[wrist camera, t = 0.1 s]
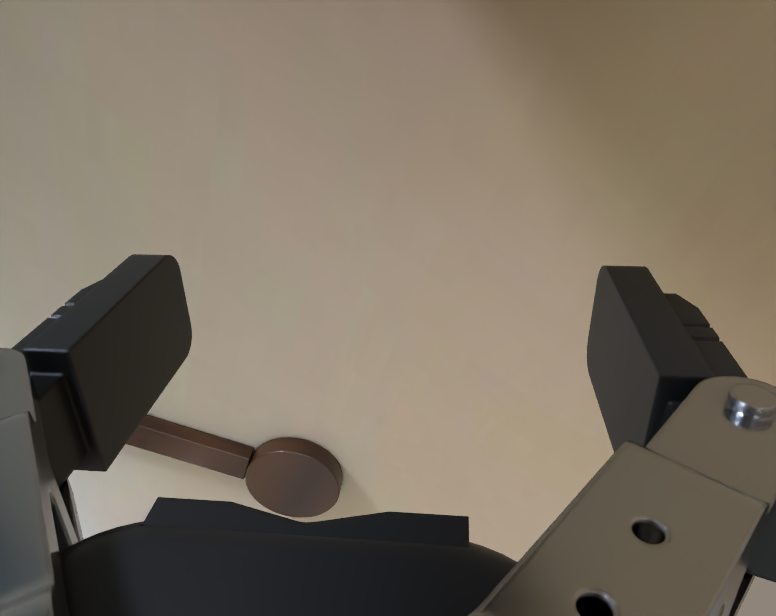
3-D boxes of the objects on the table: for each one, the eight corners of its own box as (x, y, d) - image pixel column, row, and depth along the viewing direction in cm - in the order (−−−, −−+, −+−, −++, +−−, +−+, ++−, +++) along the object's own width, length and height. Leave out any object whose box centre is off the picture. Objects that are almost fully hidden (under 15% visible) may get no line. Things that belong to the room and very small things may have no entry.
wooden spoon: (16, 419, 40) (5, 432, 39) (16, 349, 37) (3, 362, 36) (328, 513, 42) (325, 528, 41) (354, 454, 38) (351, 469, 37)
